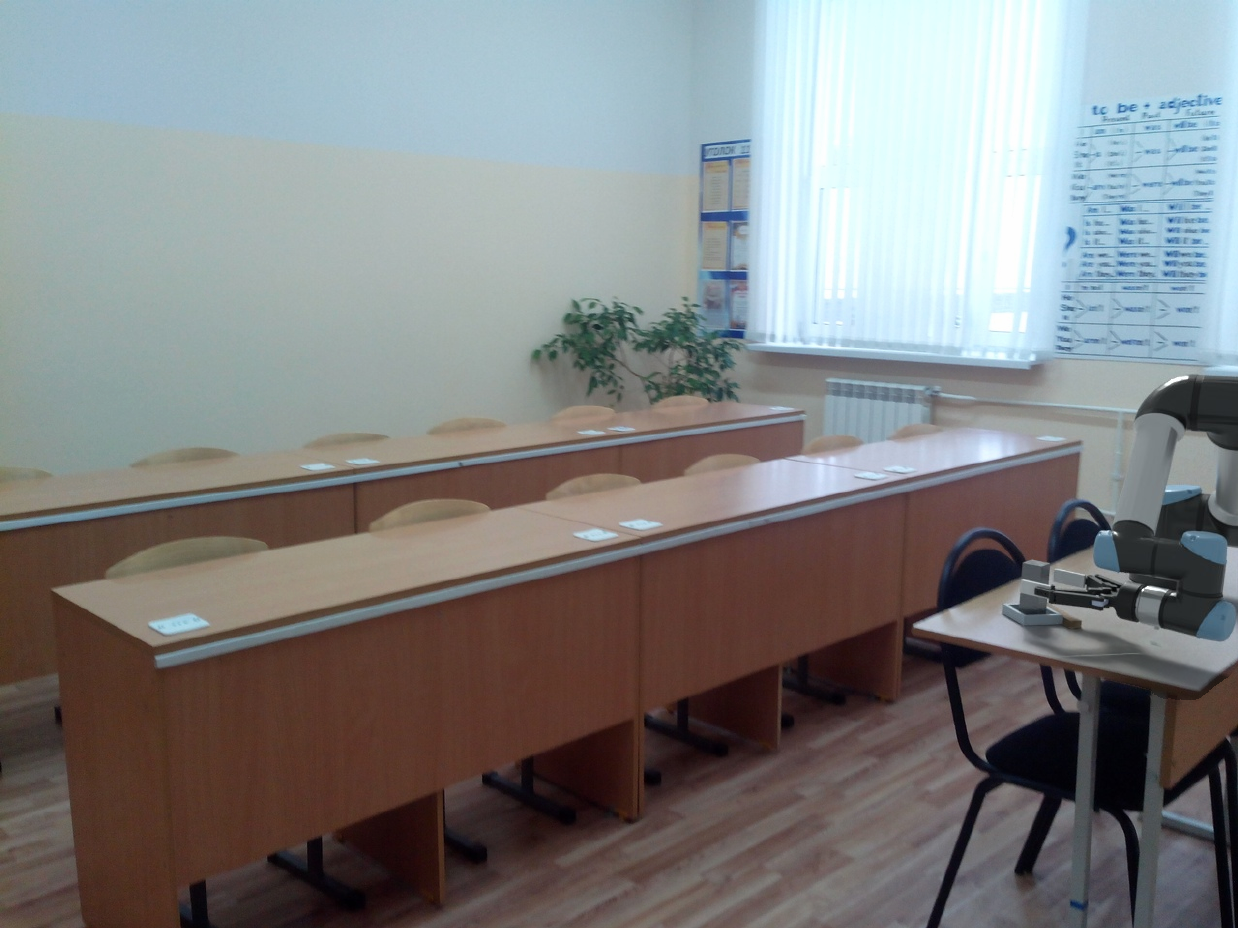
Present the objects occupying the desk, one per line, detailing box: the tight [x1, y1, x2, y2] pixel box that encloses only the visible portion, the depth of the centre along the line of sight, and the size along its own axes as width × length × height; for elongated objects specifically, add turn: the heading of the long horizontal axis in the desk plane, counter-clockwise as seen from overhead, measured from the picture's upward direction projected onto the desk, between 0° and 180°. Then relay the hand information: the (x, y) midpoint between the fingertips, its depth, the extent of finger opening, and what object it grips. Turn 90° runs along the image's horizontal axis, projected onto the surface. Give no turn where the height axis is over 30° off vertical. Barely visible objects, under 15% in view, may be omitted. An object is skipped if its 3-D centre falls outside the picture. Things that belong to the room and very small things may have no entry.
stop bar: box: [1019, 559, 1051, 615], centre depth 219 cm, size 4×4×12 cm
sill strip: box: [1047, 602, 1083, 629], centre depth 221 cm, size 2×14×2 cm, turn 9°
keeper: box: [1001, 602, 1063, 627], centre depth 220 cm, size 9×9×2 cm
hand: (1038, 580), depth 218 cm, fingers open, 13 cm apart
